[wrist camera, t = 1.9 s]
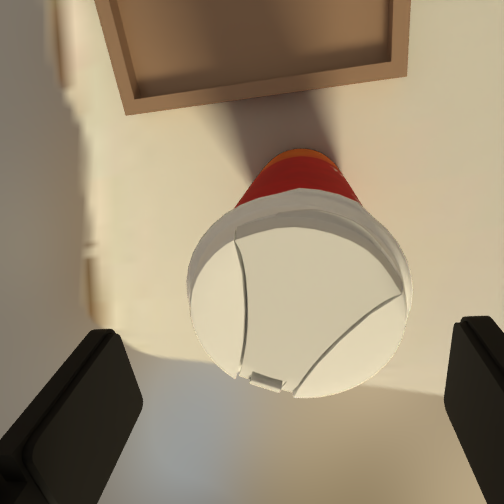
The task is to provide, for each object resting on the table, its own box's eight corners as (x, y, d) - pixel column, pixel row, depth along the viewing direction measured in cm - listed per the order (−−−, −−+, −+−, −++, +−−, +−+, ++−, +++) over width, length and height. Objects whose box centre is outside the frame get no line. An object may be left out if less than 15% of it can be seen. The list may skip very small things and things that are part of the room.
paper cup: (332, 256, 25) (358, 433, 13) (230, 223, 25) (157, 370, 13) (381, 150, 22) (482, 255, 9) (262, 111, 22) (203, 165, 9)
